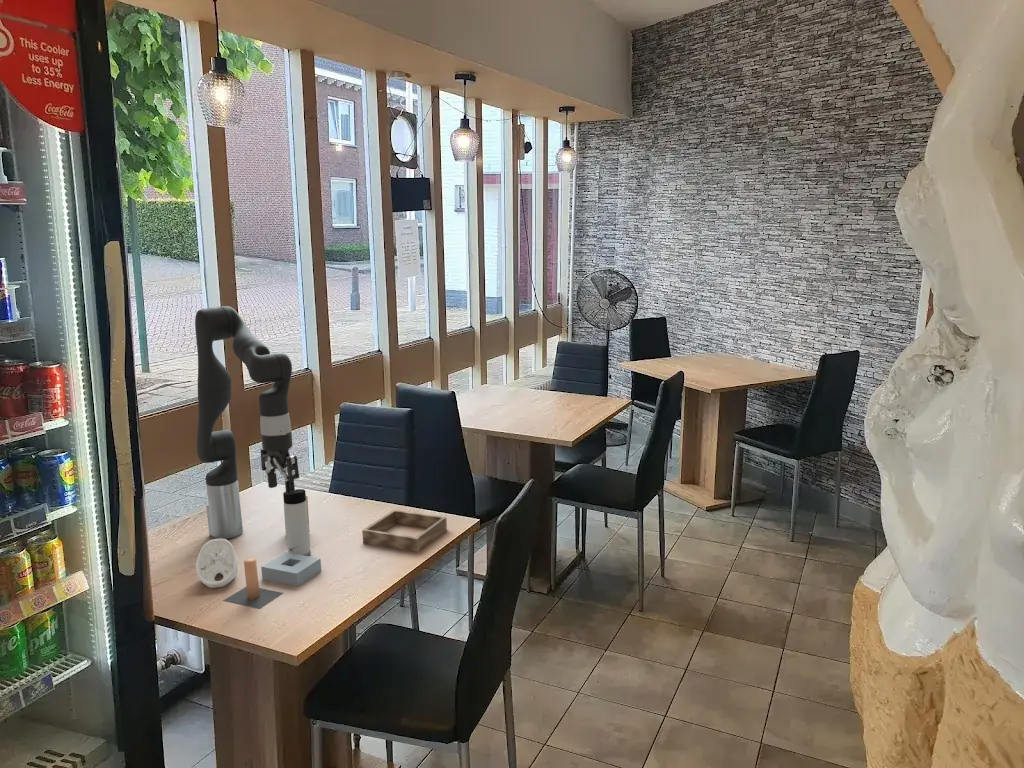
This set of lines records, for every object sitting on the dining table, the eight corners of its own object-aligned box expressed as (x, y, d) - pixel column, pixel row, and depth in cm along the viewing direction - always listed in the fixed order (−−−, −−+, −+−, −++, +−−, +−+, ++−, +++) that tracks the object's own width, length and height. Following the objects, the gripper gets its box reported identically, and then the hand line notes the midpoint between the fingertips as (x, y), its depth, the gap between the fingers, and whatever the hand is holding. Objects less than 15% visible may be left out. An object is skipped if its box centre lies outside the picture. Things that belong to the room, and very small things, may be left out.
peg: (244, 598, 197) (241, 562, 195) (253, 593, 200) (249, 557, 198) (254, 600, 196) (250, 563, 194) (262, 595, 199) (258, 559, 197)
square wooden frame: (363, 542, 231) (362, 530, 230) (394, 521, 247) (394, 509, 247) (417, 551, 224) (417, 538, 223) (446, 529, 240) (446, 517, 239)
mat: (223, 602, 196) (222, 600, 196) (247, 586, 204) (247, 585, 204) (260, 610, 192) (259, 608, 191) (283, 594, 200) (283, 592, 200)
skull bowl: (243, 558, 219) (237, 533, 210) (241, 601, 209) (234, 577, 201) (204, 562, 217) (197, 536, 208) (200, 606, 207) (192, 581, 198)
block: (262, 580, 208) (261, 566, 207) (286, 565, 217) (285, 552, 216) (298, 587, 203) (296, 573, 202) (321, 571, 212) (320, 558, 211)
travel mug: (291, 561, 219) (285, 495, 215) (286, 553, 225) (280, 488, 221) (313, 556, 222) (307, 491, 218) (307, 548, 228) (302, 484, 224)
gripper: (248, 429, 200) (254, 488, 203) (277, 438, 190) (283, 500, 194) (274, 423, 205) (279, 481, 208) (304, 431, 196) (309, 492, 199)
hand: (281, 490), depth 201 cm, fingers open, 8 cm apart
